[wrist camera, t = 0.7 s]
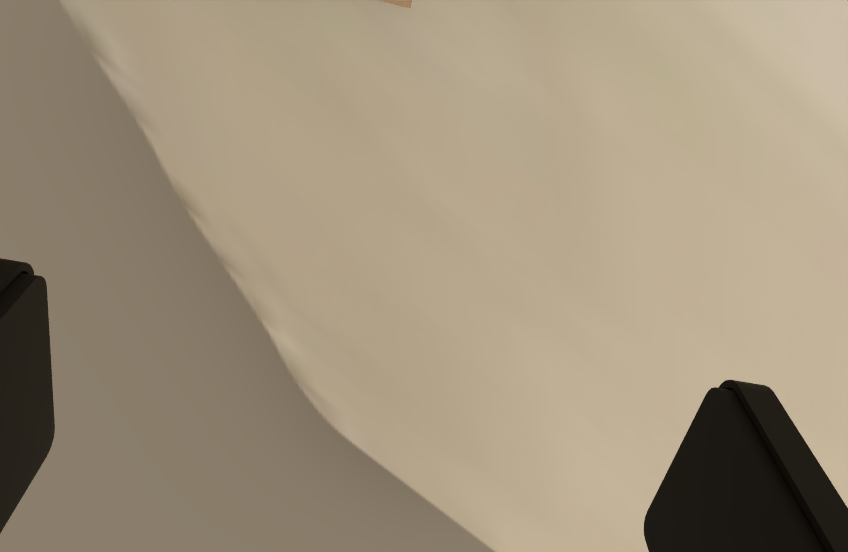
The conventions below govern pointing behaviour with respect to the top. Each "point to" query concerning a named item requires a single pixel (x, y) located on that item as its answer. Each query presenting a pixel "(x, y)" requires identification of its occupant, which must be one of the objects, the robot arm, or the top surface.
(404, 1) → the socket board
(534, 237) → the top surface
